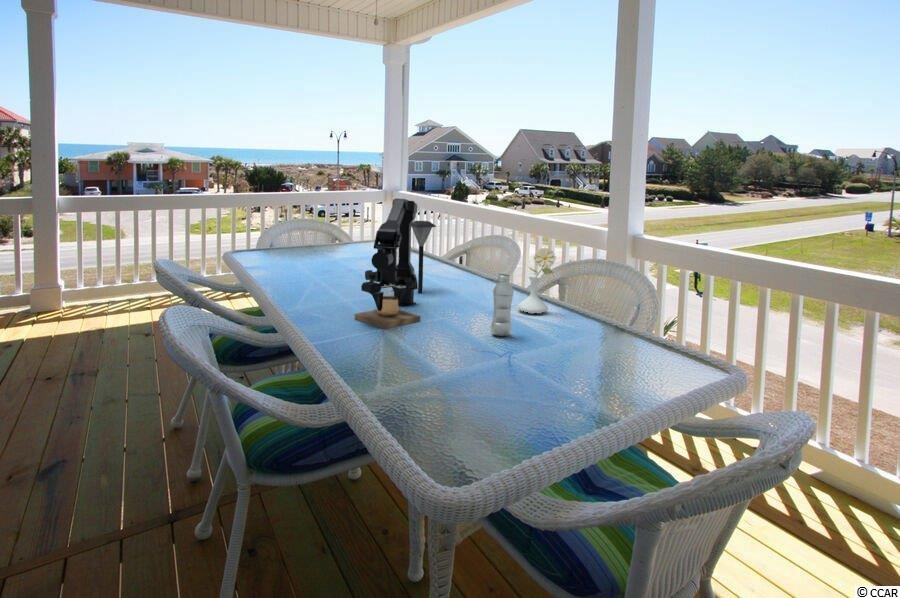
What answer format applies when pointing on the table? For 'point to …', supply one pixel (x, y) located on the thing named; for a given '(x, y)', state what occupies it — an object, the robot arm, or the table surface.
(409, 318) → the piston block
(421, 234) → the solar garden light
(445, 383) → the table surface
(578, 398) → the table surface
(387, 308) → the brown octagonal cup
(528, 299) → the flower in vase
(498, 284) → the plastic bottle
